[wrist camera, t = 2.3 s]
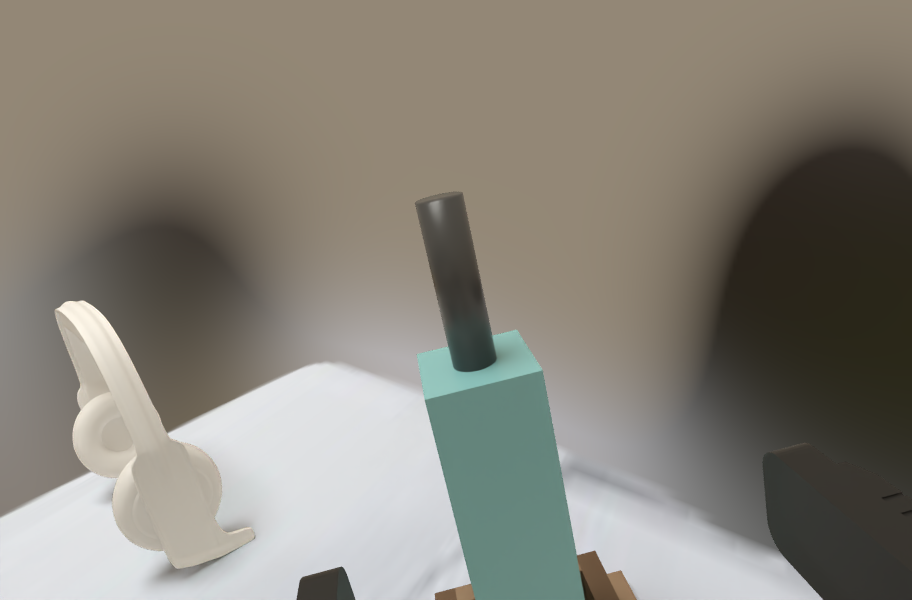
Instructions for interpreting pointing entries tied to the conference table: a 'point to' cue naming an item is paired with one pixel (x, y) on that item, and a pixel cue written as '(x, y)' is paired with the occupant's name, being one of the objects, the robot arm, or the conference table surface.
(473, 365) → the plug
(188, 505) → the headset
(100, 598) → the conference table surface
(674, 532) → the conference table surface
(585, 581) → the brown open square box
